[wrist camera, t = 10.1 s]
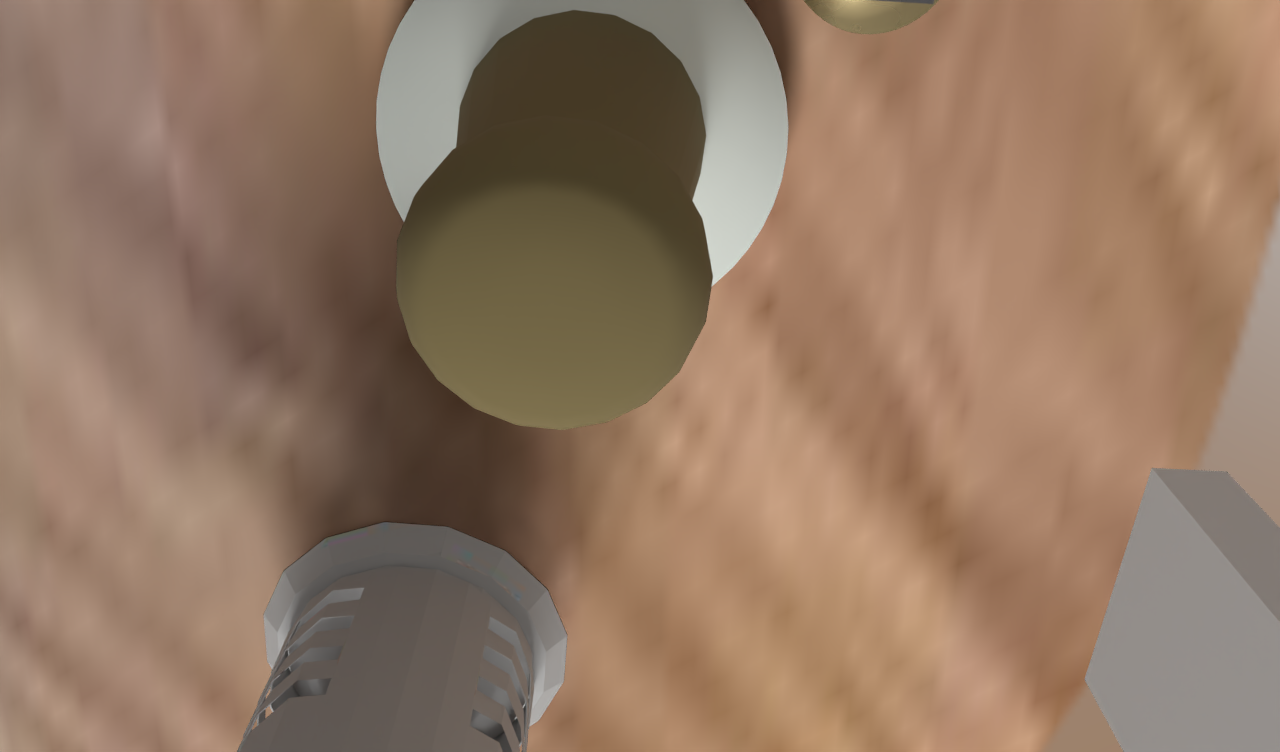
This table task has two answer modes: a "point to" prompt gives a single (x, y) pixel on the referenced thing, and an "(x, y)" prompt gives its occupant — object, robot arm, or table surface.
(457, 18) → the dish
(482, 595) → the french press
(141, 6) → the table surface
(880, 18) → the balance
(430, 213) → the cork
